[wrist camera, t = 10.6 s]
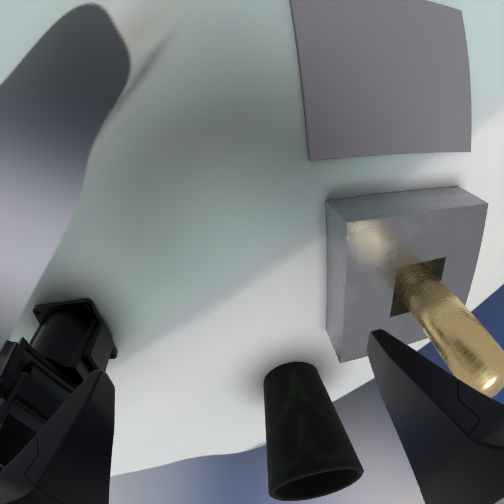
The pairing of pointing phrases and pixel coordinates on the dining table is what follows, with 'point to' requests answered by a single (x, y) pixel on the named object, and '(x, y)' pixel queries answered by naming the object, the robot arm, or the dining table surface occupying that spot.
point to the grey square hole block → (395, 258)
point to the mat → (382, 77)
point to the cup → (305, 436)
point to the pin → (451, 329)
